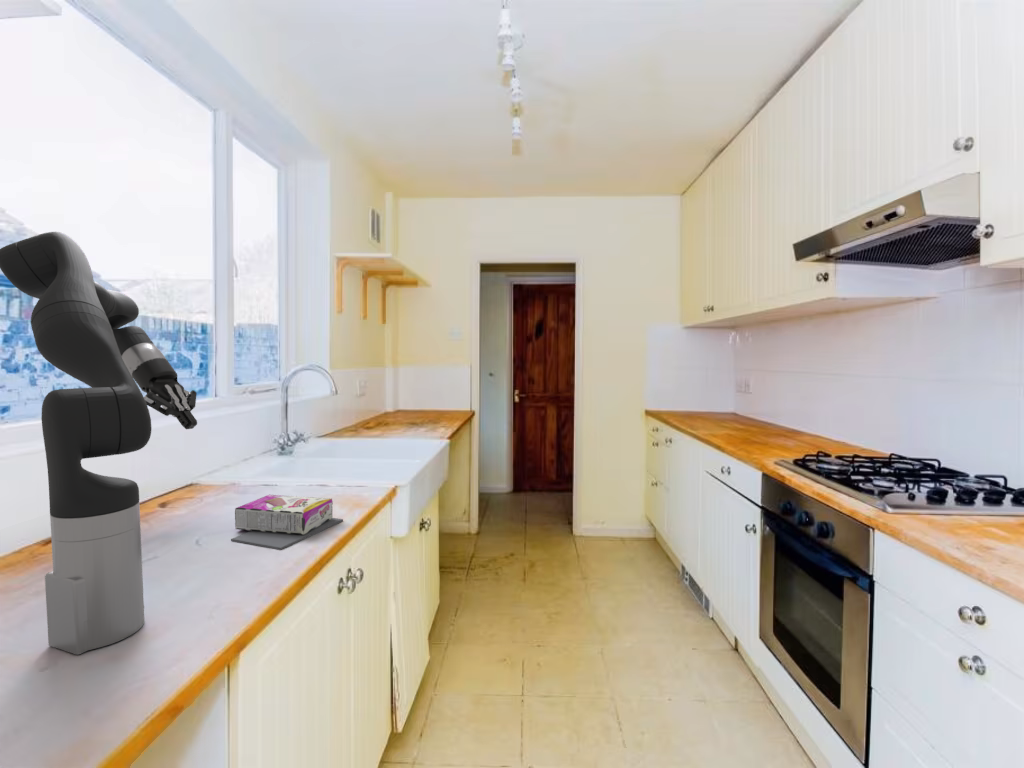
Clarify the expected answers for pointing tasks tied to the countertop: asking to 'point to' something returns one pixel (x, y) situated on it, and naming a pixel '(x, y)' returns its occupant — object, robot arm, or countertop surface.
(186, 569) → the countertop surface
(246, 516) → the candy bar box
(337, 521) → the mat
